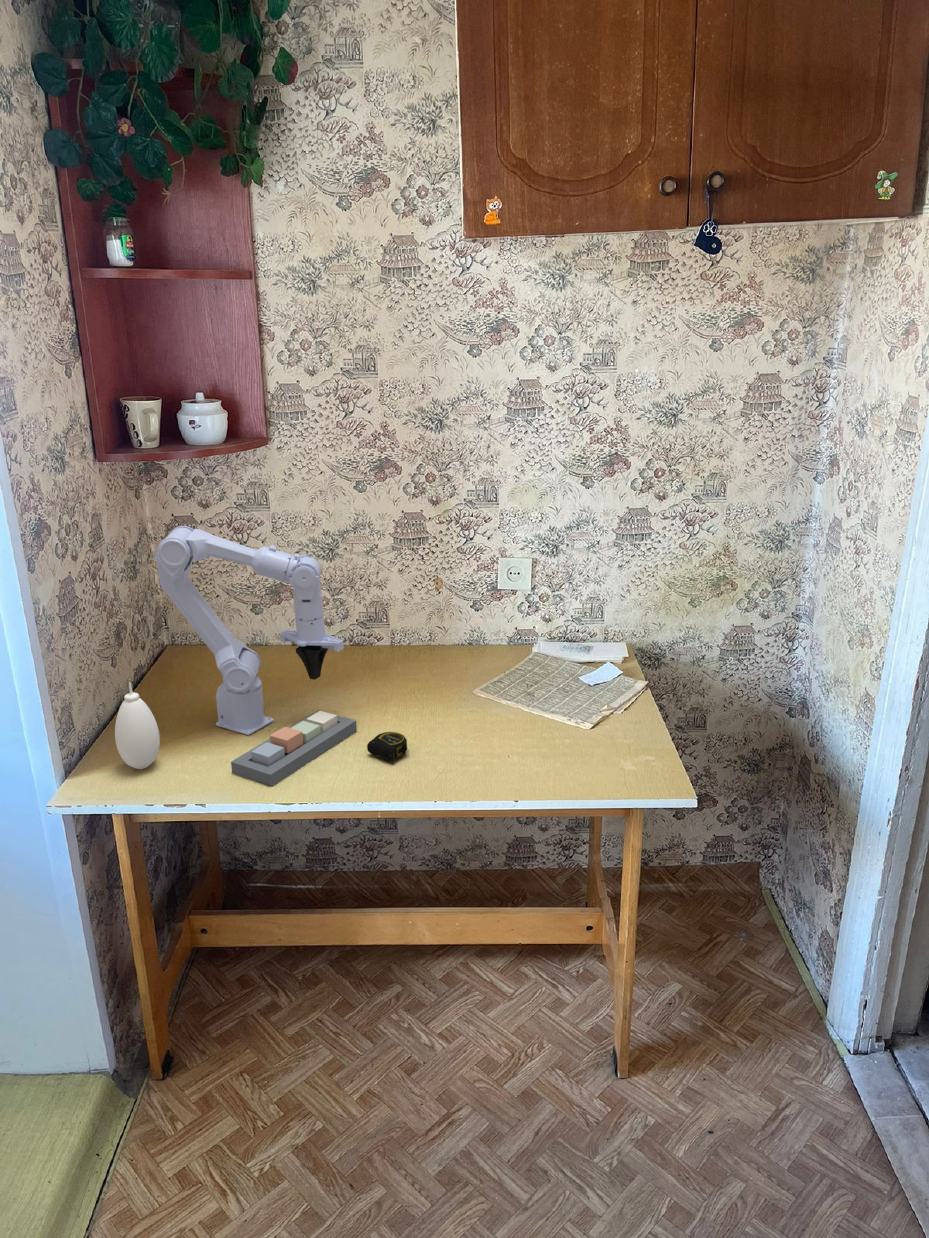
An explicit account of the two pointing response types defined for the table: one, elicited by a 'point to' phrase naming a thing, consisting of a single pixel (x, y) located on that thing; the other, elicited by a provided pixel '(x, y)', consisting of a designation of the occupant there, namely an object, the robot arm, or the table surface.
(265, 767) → the key panel
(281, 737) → the terracotta key
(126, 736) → the white bulb syringe
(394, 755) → the tape measure
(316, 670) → the robot arm
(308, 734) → the sage key
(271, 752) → the slate key
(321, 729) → the ivory key
